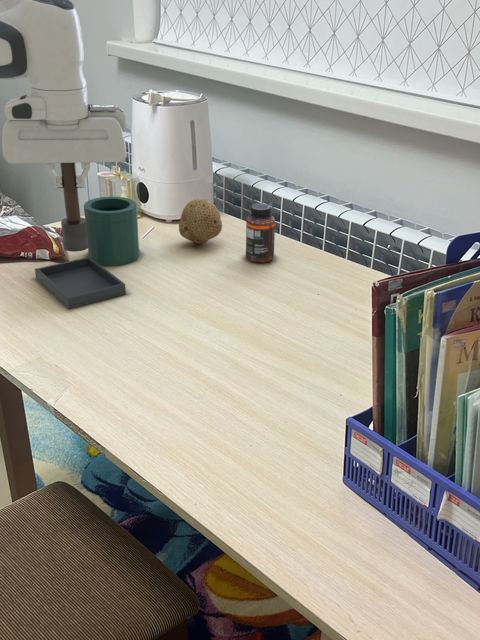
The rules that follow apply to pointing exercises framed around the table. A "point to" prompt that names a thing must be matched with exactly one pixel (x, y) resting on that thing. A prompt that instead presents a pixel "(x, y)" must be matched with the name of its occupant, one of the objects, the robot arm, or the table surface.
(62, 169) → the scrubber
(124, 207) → the jar
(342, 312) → the table surface
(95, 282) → the tray
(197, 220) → the natural sponge
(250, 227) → the supplement bottle
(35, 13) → the robot arm
